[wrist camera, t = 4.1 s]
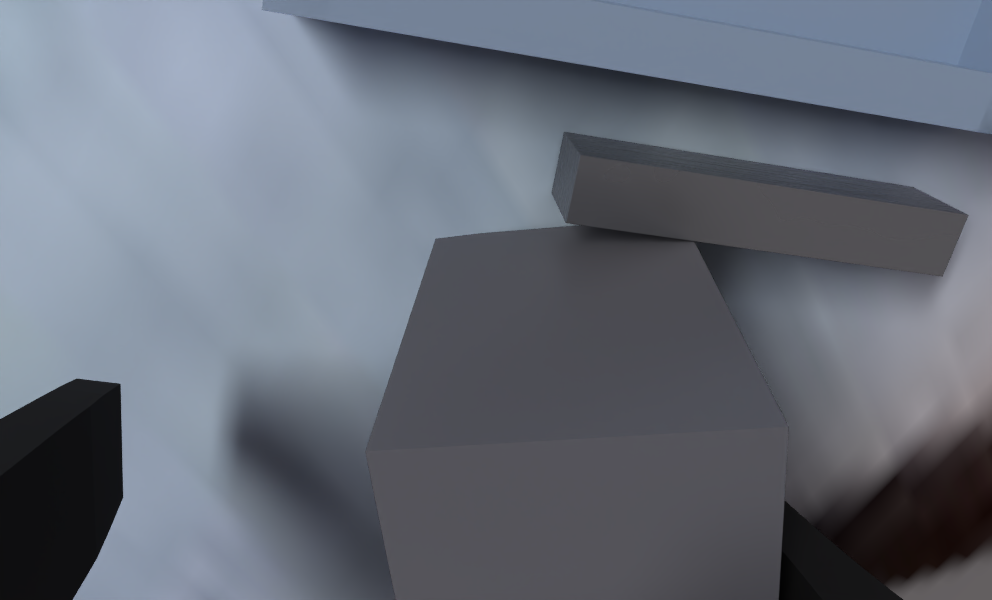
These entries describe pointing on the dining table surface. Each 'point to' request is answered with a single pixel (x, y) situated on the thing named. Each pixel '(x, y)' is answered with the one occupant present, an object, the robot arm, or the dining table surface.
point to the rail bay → (752, 205)
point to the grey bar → (577, 428)
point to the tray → (731, 45)
